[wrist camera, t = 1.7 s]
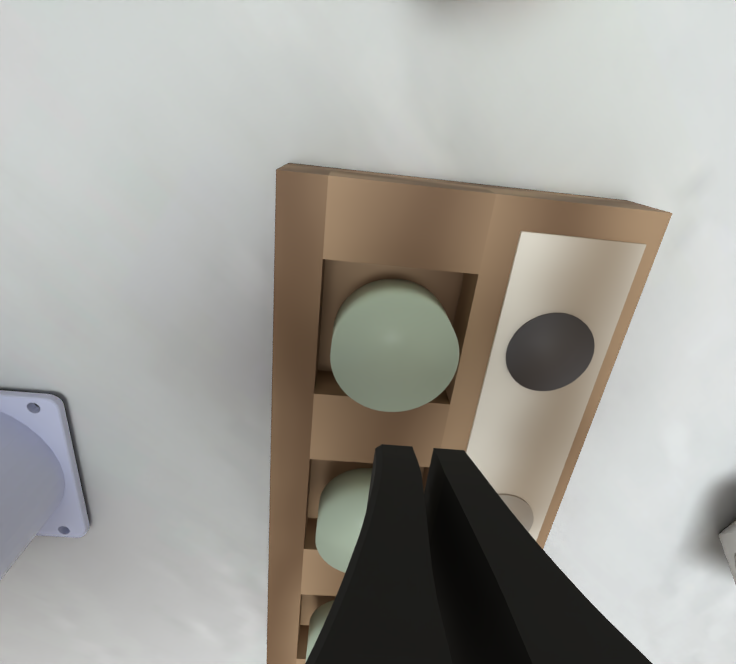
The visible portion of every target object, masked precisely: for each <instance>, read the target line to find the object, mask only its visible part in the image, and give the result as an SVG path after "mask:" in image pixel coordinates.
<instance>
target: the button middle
mask: <svg viewBox="0 0 736 664" xmlns="http://www.w3.org/2000/svg"><path fill="white" fill-rule="evenodd" d="M371 474H372V468H358V469H353V470H350V471H346V472H344V473H342V474H340V475H338V476H336V477H335V478H333V479H332V480H331V481H330V482H329V483H328V484H327V485H326V486H325V488H324V489H323V491H322V493H321V496H320V500H319V509H318V518H317V528H316V547H317V550H318V552H319V554H320V556H321V557H322V558H323V560H324V561H325V562H327V563H328V564H329V565H330V566H332V567H333V568H335V569H337V570H339V571H342V572H344V573H346V570H347V567H348V564H349V562H350V559H351V556H352V554H353V551H354V548H355V545H356V543H357V540H358V537H359V534H360V531H361V528H362V524H363V521H364V517H365V514H366V509H367V502H368V495H369V488H370V481H371Z"/></svg>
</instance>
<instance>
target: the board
mask: <svg viewBox="0 0 736 664" xmlns="http://www.w3.org/2000/svg"><path fill="white" fill-rule="evenodd" d="M671 215H672V213H670V212H666V211H662V210H659V209H655V208H652V207H648V206H645V205H641V204H638V203H634V202H631V201H626V200H617V199H608V198H599V197H590V196H581V195H572V194H563V193H554V192H545V191H536V190H527V189H518V188H509V187H500V186H491V185H482V184H473V183H464V182H455V181H446V180H437V179H428V178H419V177H410V176H401V175H392V174H383V173H374V172H365V171H356V170H347V169H338V168H329V167H320V166H311V165H302V164H293V163H288V164H286V165H284V166H282V167H280V168H278V169H277V170H276V210H275V261H274V313H273V364H272V416H271V467H270V518H269V570H268V621H267V664H305V663H306V652H307V642H308V632H309V622H310V618H311V616H312V614H313V612H314V611H315V610H316V609H317V608H319V607H320V606H321V605H323V604H325V603H327V602H330V601H332V600H335V597H336V595H337V593H338V590H339V588H340V585H341V583H342V580H343V578H344V575H345V573H344V572H342V571H339V570H337V569H335V568H333V567H332V566H330V565H329V564H328V563H327V562H325V561H324V560H323V558H322V557H321V556H320V554H319V552H318V550H317V547H316V528H317V518H318V509H319V500H320V496H321V493H322V491H323V489H324V488H325V486H326V485H327V484H328V483H329V482H330V481H331V480H332V479H333V478H335V477H336V476H338V475H340V474H342V473H344V472H346V471H350V470H353V469H358V468H372V467H373V460H374V453H375V448H377V447H378V446H380V445H381V444H386V445H400V446H412V447H413V449H414V452H415V455H416V457H417V460H418V463H419V467H420V470H421V474H422V482H423V491H425V486H426V481H427V476H428V472H429V467H430V462H431V457H432V453H433V448H441V449H455V450H464V451H465V452H466V453H467V455H468V456H469V457H470V458H471V460H472V461H473V462H474V464H475V465H476V466H477V467H478V469H479V470H480V471H481V473H482V474H483V475H484V477H485V478H486V479H487V481H488V482H489V483H490V484H491V486H492V487H493V488H494V490H495V491H496V492H497V494H498V495H499V496H500V497H501V499H502V500H503V501H504V503H505V504H506V505H507V506H508V508H509V509H510V510H511V511H512V513H513V514H514V515H515V516H516V518H517V519H518V520H519V521H520V523H521V524H522V525H523V526H524V527H525V529H526V530H527V531H528V532H529V533H530V535H531V536H532V537H533V538H534V539H535V541H536V542H537V543H538V544H539V545H540V547H541V548H542V549H543V548H544V545H545V542H546V540H547V537H548V535H549V532H550V529H551V527H552V524H553V522H554V519H555V516H556V514H557V511H558V509H559V506H560V503H561V501H562V498H563V496H564V493H565V490H566V488H567V485H568V483H569V480H570V477H571V475H572V472H573V470H574V467H575V464H576V462H577V459H578V457H579V454H580V451H581V449H582V446H583V444H584V441H585V438H586V436H587V433H588V431H589V428H590V426H591V423H592V420H593V418H594V415H595V413H596V410H597V407H598V405H599V402H600V400H601V397H602V394H603V392H604V389H605V387H606V384H607V381H608V379H609V376H610V374H611V371H612V368H613V366H614V363H615V361H616V358H617V355H618V353H619V350H620V348H621V345H622V342H623V340H624V337H625V335H626V332H627V329H628V327H629V324H630V322H631V319H632V316H633V314H634V311H635V309H636V306H637V304H638V301H639V298H640V296H641V293H642V291H643V288H644V285H645V283H646V280H647V278H648V275H649V272H650V270H651V267H652V265H653V262H654V259H655V257H656V254H657V252H658V249H659V246H660V244H661V241H662V239H663V236H664V233H665V231H666V228H667V226H668V223H669V220H670V218H671ZM382 279H403V280H408V281H411V282H415V283H417V284H419V285H421V286H423V287H424V288H426V289H428V290H429V291H430V292H431V293H432V294H434V296H435V297H436V298H437V299H438V300H439V302H440V303H441V304H442V306H443V308H444V310H445V312H446V314H447V317H448V319H449V321H450V323H451V325H452V327H453V329H454V332H455V334H456V337H457V340H458V345H459V361H458V366H457V369H456V372H455V374H454V377H453V378H452V380H451V382H450V383H449V385H448V386H447V387H446V388H445V390H444V391H443V392H442V393H441V394H440V395H438V396H437V397H436V398H434V399H433V400H432V401H430V402H428V403H427V404H425V405H422V406H420V407H418V408H414V409H411V410H407V411H400V412H385V411H378V410H374V409H370V408H368V407H365V406H363V405H361V404H359V403H357V402H356V401H354V400H353V399H351V398H350V397H349V396H348V395H347V394H346V393H345V392H344V391H343V390H342V389H341V388H340V386H339V384H338V383H337V381H336V379H335V377H334V375H333V371H332V368H331V362H330V352H331V344H332V335H333V327H334V321H335V318H336V315H337V313H338V311H339V308H340V307H341V305H342V304H343V302H344V301H345V300H346V299H347V298H348V297H349V296H350V295H351V294H352V293H353V292H354V291H356V290H357V289H359V288H360V287H362V286H364V285H366V284H368V283H371V282H374V281H377V280H382Z"/></svg>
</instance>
